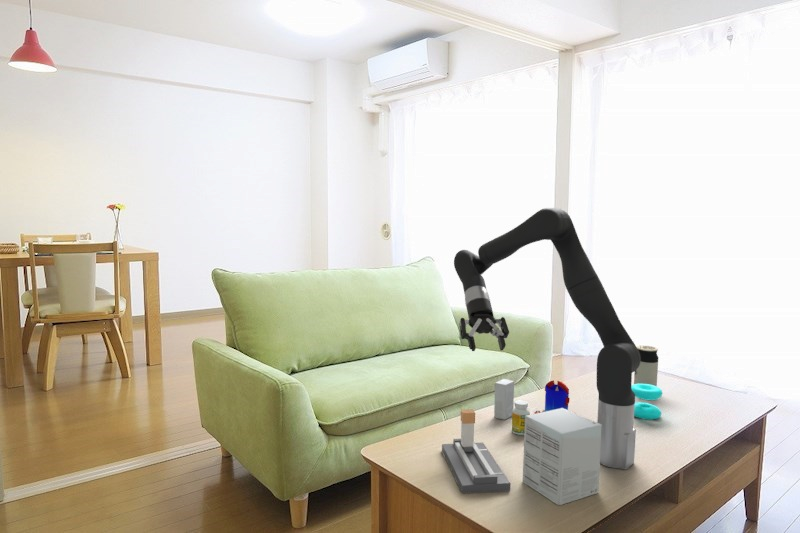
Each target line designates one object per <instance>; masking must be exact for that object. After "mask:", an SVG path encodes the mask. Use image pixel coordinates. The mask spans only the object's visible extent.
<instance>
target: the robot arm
mask: <svg viewBox="0 0 800 533" xmlns="http://www.w3.org/2000/svg"><path fill="white" fill-rule="evenodd" d="M544 240H547V241H549V240H550V241H551V243H552V244H553V246H554V248H555V249H556V251H557V254H558V256H559V258H560V262H561V268H562V278H563V282H564V285H565V286H564V287H565V289H566V291H567V293H568V295H569V297H570V298H571V301H572V303H573V305H574V307H575V308H576V310H577V311H578V312H579V313H580V314H581V315H582V316H583V317H584V318H585V320H587V321H588V323H589V324H590V325H591V326H592V327H593V328H594V329H595V331H596V332H597V334H598V337H599V338H600V341H601V343H602V346H603V347H602V348H601V349H600V351H598V355H597V361H596V390H597V392H598V399H597V400H598V404H597V420H596V421H597V423H599V424H601V425H602V426H601V447H600V464H601V465H603V466H606V467H608V468H612V469H622V470H628V469H629V468H630V467H631V466H632V465H634V464H635V454H636V452H635V450H636V436H637V434H636V432H637V430H636V429H635V428H634V423H635V421H634V420H635V416H634V408H635V403H636V397H635V393H634V392H633V391H632V388H631V386H632V383H633V382H632V379H633V377H632V376H633V373H635V370H637V368H638V367H639V365H640V361H641V358H640V353H639V351H638V349H637V346H636V344H635V342H634V340H633V339H632V338H631V337H630V334H629V333H628V332H627V330H626V329H625V327H624V326H623V324H622V322H621V321H620V319H619V316H618V314H617V312H616V311H615V308H614V306H613V304H612V302H611V300H610V298H609V296H608V294H607V291H606V290H605V287H604V286H603V283H602V281H601V279H600V278H599V276H598V274H597V272H596V271H595V269H594V266H593V265H592V263H591V261H590V258H589V256H588V255H587V253H586V251H585V250H584V248H583V246H582V243H581V241H580V238H579V235H578V233H577V231H576V228H575V226H574V222H573V221H572V218H571V216H570V215H569V213H568V212H567V211H566V210H564V209H562V208H559V207H544V208H542V209H539V210H537V211H536V212H535V213H534V214H532V215H531V216H530V217H528V218H527V219H526V220H524V221H523V222H522V223H520V224H519V225H517V226H515V227H514V228H512V229H511V230H509V231H507V232H505V233H503V234H502V235H500V236H497V237H495V238H493V239H491V240H489V241H487V242H485V243H483V244H482V245H480V246H479V248H478V249H477V250H478V251H477V254H478V255H477V254H475V253H474V252H471V251H470V250H467V249H462V250H459V251H458V252H456V254H455V256H454V259H453V266H454V267H453V268H454V270H455V272H456V274H457V276H458V278H459V281H460V282H461V284H462V287H463V293H464V302H465V303H464V304H465V307H466V312H467V316H468V319H465V318H464V317H461V318H460V320H459V325H458V326H459V334H460V339H462V340H467V343H468V348H469V350H471V351H472V352H475V351H476V342H475V338H474V336H475V335H476V333H478V334H489V333H490V334H491V335H492V336H493V337H495V338H496V339H497V342H498V347H499V351H504V349H506V346H507V344H506V341H505V340H506V339H507V338H508V336H509V334H510V330H509V328H508V324H507V321H506V318H505V317H504V316H502V317H501V318H497V319H496V318H495V315H494V311H493V308H492V303H491V299H490V295H489V292H488V290H487V286H486V282H485V278H484V277H483V274H484V273H485V272H486V271H487V270H488V269H490V267H492V265H494V264H496V263H499V262H501V261H503V260H505V259H507V258H509V257H510V256H512V255H514V253H516V252H518V251H519V250H520V249H522V248H523V247H525V246H528V245H530V244H533V243H536V242H540V241H544ZM496 324H497V325H496ZM467 326H469V327H470V328H471V330H470V331H469V332H467V328H466V327H467Z"/></svg>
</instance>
